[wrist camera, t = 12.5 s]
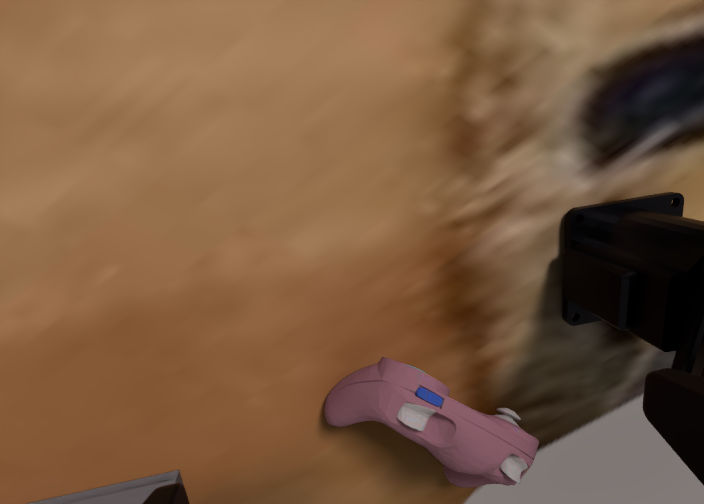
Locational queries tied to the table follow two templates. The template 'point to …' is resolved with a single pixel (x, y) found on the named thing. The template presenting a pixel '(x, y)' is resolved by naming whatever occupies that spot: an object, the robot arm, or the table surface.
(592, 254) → the robot arm
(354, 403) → the video game controller
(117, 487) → the trough tray
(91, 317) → the table surface
